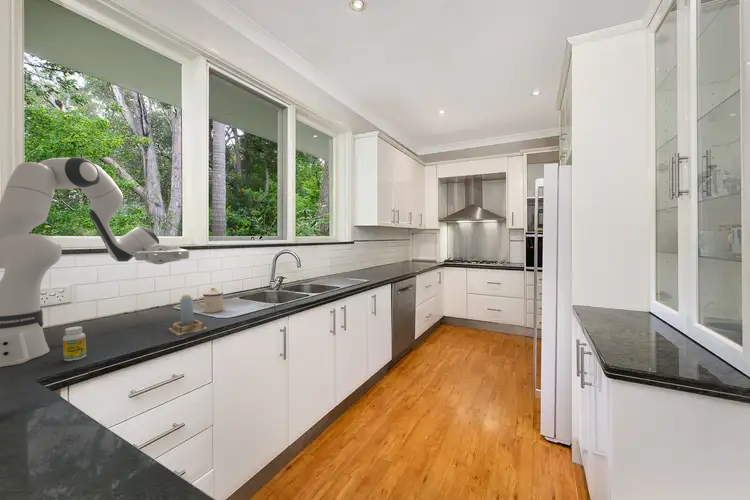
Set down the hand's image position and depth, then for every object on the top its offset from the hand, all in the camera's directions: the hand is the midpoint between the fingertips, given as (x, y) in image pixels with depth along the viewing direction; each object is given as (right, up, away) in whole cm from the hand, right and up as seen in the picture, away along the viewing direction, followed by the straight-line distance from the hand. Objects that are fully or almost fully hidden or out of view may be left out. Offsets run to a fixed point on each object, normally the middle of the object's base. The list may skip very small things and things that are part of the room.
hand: (168, 255), depth 143 cm
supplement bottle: (-6, -32, -37) cm, 49 cm away
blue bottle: (+12, -29, -7) cm, 32 cm away
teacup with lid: (+6, -28, +25) cm, 38 cm away
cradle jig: (+12, -30, -7) cm, 33 cm away
